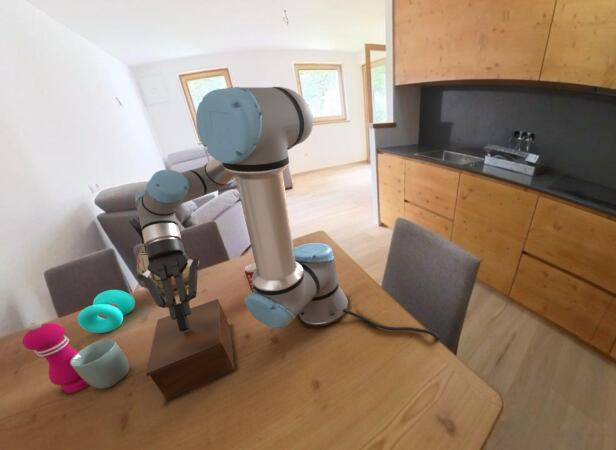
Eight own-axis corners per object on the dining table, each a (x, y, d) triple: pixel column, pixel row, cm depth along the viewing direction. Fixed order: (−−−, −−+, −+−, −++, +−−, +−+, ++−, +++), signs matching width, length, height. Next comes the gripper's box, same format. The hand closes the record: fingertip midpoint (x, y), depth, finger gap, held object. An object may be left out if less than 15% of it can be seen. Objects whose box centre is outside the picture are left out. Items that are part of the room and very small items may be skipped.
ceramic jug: (148, 287, 104) (107, 215, 91) (196, 270, 113) (165, 202, 100) (151, 310, 93) (105, 231, 79) (204, 289, 102) (171, 215, 89)
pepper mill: (65, 400, 66) (9, 341, 57) (58, 385, 69) (4, 327, 61) (105, 376, 71) (60, 318, 62) (97, 363, 75) (53, 307, 66)
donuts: (142, 308, 94) (128, 284, 90) (126, 329, 85) (109, 305, 81) (106, 315, 92) (90, 292, 87) (86, 338, 83) (67, 313, 78)
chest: (234, 370, 71) (221, 343, 67) (167, 401, 64) (148, 373, 60) (230, 326, 85) (219, 301, 80) (174, 348, 78) (159, 322, 74)
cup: (108, 396, 66) (86, 369, 62) (84, 391, 68) (60, 363, 63) (141, 367, 73) (123, 340, 69) (119, 363, 75) (99, 336, 70)
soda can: (272, 292, 98) (264, 264, 93) (259, 301, 94) (249, 272, 89) (264, 288, 101) (254, 260, 96) (250, 296, 97) (240, 268, 92)
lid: (221, 345, 66) (220, 342, 66) (147, 376, 59) (145, 373, 59) (219, 301, 80) (218, 298, 80) (158, 322, 74) (157, 319, 73)
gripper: (197, 241, 80) (218, 319, 74) (139, 255, 74) (157, 342, 68) (189, 231, 73) (211, 317, 68) (125, 246, 67) (144, 341, 62)
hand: (184, 329), depth 68 cm, fingers closed
